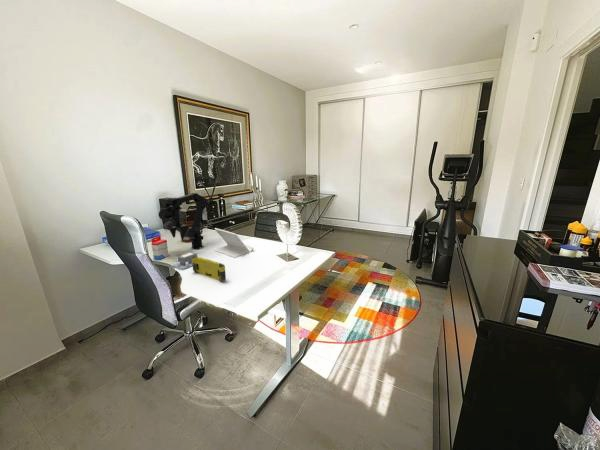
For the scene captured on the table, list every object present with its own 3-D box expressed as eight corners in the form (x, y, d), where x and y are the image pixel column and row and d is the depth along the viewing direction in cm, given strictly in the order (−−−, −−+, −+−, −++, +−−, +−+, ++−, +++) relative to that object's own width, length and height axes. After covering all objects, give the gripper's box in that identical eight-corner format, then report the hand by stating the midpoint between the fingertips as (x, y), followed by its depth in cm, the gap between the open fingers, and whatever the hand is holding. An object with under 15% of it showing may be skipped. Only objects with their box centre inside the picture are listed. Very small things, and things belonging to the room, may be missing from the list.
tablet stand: (234, 258, 167) (232, 234, 163) (213, 250, 182) (211, 228, 178) (254, 251, 180) (253, 229, 176) (233, 244, 196) (232, 223, 191)
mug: (187, 243, 196) (185, 225, 192) (177, 241, 203) (175, 223, 199) (207, 237, 212) (206, 221, 208) (198, 235, 219) (196, 219, 215)
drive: (192, 259, 162) (191, 251, 160) (197, 260, 159) (196, 253, 158) (178, 264, 153) (177, 256, 152) (184, 266, 151) (183, 258, 149)
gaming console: (228, 280, 135) (226, 263, 132) (222, 283, 131) (220, 266, 129) (198, 270, 147) (196, 254, 145) (191, 273, 144) (190, 257, 141)
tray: (193, 258, 166) (193, 253, 165) (204, 261, 161) (204, 256, 160) (171, 266, 152) (170, 261, 152) (182, 270, 147) (182, 264, 146)
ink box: (159, 260, 163) (156, 239, 159) (153, 259, 164) (150, 238, 160) (169, 255, 171) (166, 235, 167) (162, 255, 172) (160, 235, 168)
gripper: (155, 217, 164) (158, 239, 168) (172, 220, 155) (175, 243, 159) (171, 214, 173) (174, 235, 177) (188, 217, 164) (190, 239, 168)
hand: (178, 238), depth 170 cm, fingers open, 9 cm apart
